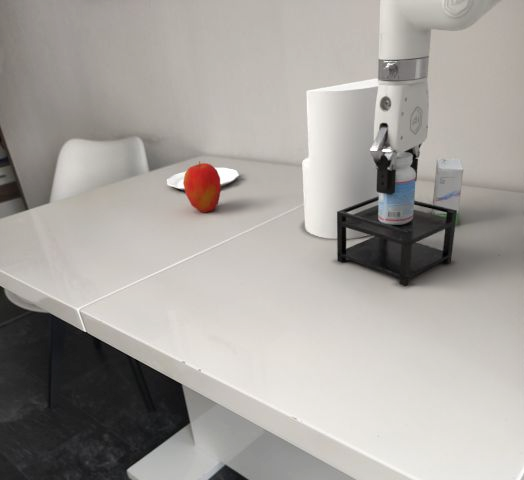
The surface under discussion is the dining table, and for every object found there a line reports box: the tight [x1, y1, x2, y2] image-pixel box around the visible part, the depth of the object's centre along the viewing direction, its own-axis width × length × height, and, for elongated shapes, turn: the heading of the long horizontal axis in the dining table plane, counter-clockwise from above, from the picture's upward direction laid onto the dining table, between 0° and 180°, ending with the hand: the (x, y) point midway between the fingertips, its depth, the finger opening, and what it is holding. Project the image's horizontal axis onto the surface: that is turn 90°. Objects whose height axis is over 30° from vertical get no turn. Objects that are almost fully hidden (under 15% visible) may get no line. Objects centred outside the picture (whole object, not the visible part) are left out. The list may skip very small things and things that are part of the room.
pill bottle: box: [378, 152, 417, 225], centre depth 93 cm, size 6×6×11 cm
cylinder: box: [301, 77, 388, 240], centre depth 111 cm, size 17×17×28 cm
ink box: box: [431, 158, 464, 226], centre depth 113 cm, size 8×5×12 cm, turn 168°
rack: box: [336, 196, 457, 287], centre depth 97 cm, size 16×13×10 cm
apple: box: [183, 161, 222, 213], centre depth 132 cm, size 9×9×12 cm
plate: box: [166, 167, 240, 191], centre depth 156 cm, size 21×21×2 cm
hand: (396, 186), depth 92 cm, fingers open, 6 cm apart
